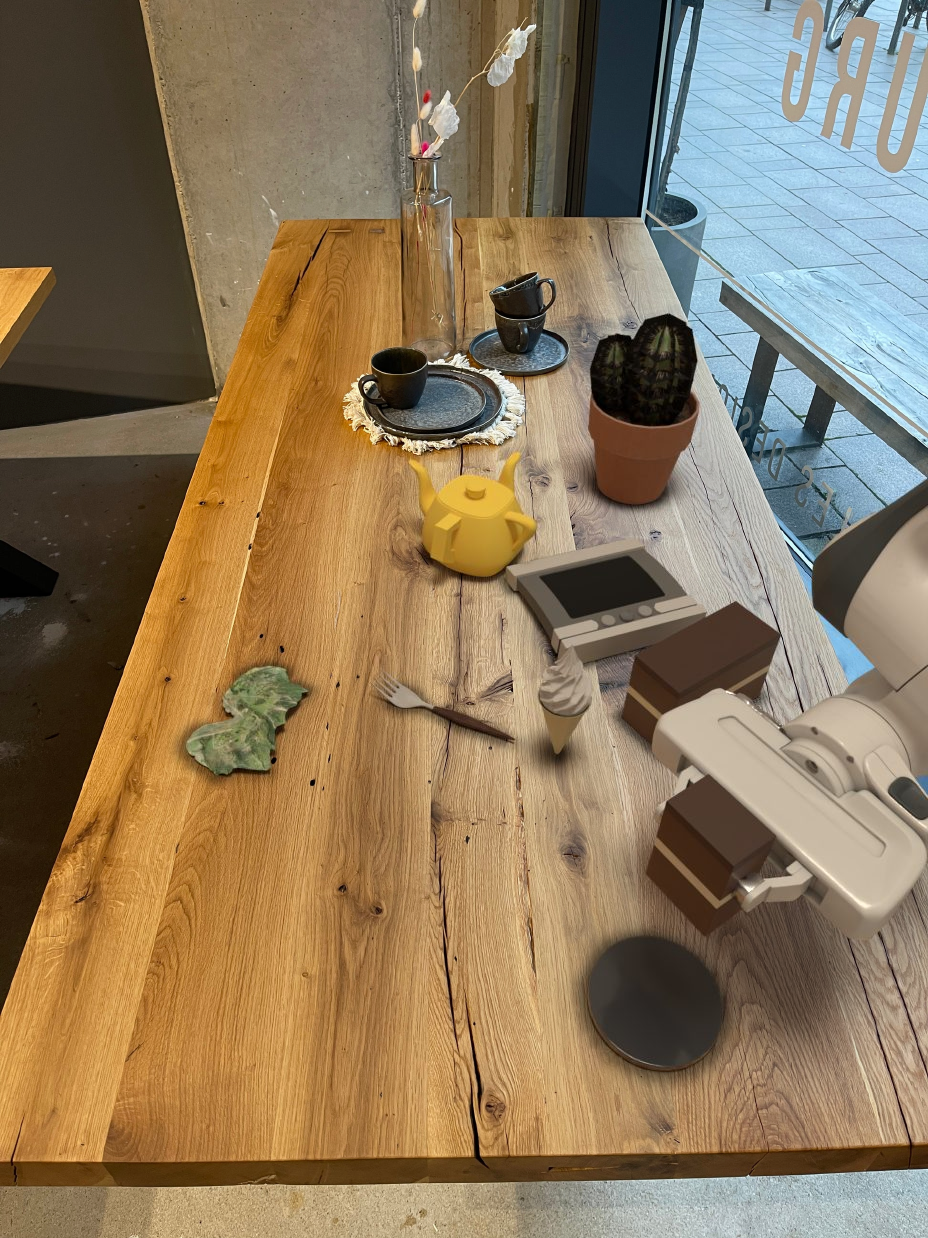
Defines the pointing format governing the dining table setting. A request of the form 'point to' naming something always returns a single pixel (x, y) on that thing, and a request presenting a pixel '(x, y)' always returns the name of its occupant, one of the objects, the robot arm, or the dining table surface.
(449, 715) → the fork
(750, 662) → the cake loaf
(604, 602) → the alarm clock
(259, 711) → the lettuce leaf
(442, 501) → the teapot
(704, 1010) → the plate
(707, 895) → the cake slice
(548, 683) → the ice cream cone
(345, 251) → the dining table surface
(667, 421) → the potted plant
